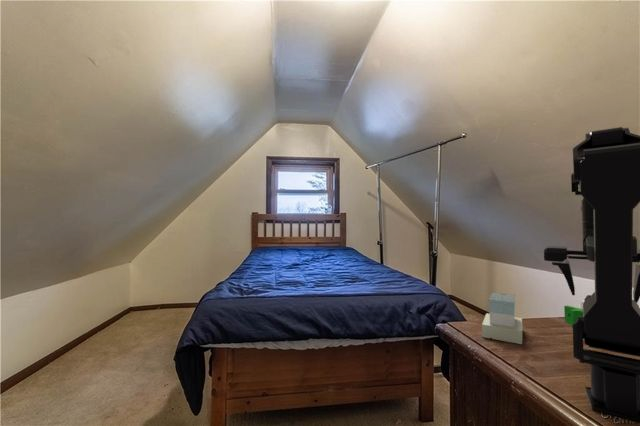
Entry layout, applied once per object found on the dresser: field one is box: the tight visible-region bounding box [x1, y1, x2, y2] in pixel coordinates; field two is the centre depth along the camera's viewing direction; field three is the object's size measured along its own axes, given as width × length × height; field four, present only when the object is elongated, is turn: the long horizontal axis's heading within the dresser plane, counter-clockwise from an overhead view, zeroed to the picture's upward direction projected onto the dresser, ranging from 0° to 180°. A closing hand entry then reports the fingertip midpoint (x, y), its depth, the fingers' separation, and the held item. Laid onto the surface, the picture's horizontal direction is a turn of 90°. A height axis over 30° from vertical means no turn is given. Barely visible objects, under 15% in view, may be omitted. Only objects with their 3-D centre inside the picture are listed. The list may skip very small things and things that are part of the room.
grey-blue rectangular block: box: [488, 292, 516, 328], centre depth 75 cm, size 5×8×6 cm, turn 146°
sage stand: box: [481, 313, 523, 345], centre depth 75 cm, size 10×8×3 cm
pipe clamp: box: [563, 305, 583, 328], centre depth 77 cm, size 11×4×5 cm, turn 19°
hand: (603, 298), depth 61 cm, fingers open, 9 cm apart
